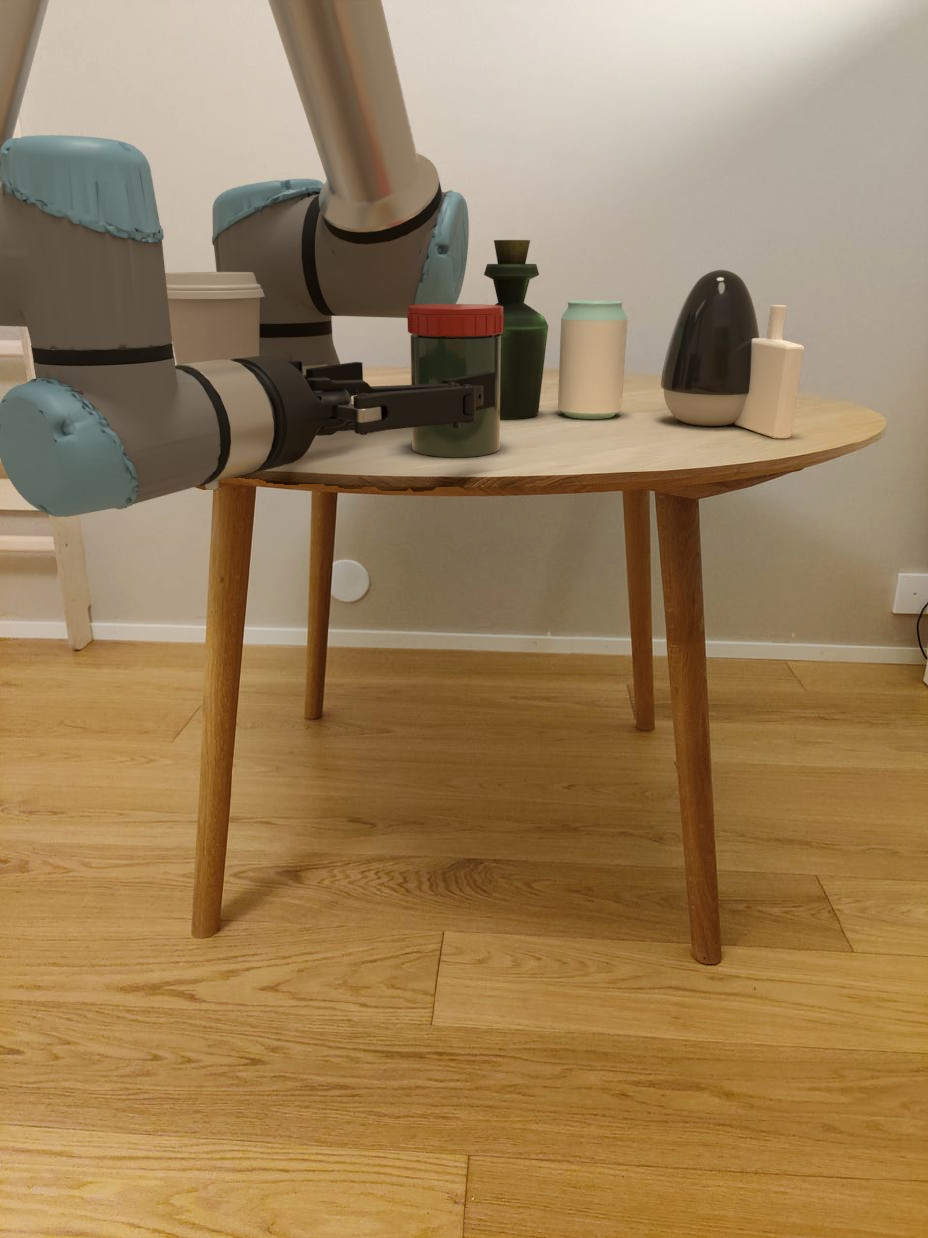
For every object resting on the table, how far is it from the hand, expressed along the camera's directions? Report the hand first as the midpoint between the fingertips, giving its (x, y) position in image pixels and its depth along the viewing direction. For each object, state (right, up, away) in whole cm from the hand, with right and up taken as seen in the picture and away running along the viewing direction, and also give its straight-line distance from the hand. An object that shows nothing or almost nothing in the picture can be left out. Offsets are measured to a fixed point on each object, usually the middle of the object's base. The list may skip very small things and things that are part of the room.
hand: (422, 383), depth 78 cm
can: (+17, +3, +25) cm, 30 cm away
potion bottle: (+9, +3, +25) cm, 26 cm away
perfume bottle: (+34, -1, +15) cm, 37 cm away
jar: (+3, -4, +6) cm, 8 cm away
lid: (+3, +7, +2) cm, 8 cm away
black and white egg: (+29, +1, +20) cm, 36 cm away
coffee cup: (-20, -2, +12) cm, 24 cm away
